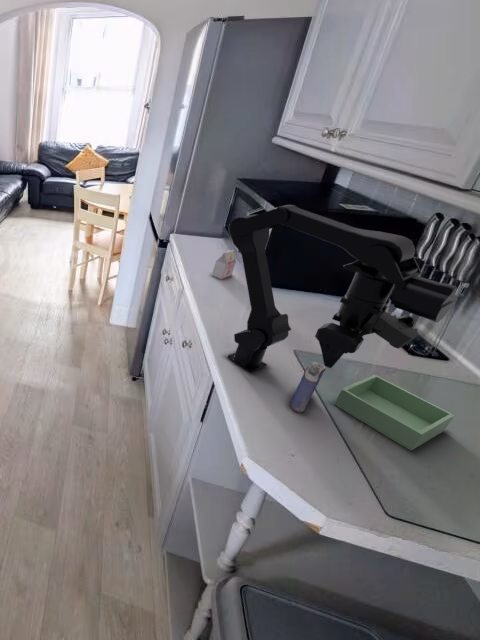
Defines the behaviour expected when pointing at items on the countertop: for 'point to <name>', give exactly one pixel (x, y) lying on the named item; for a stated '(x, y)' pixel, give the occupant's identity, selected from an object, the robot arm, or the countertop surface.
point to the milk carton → (224, 265)
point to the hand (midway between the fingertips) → (336, 359)
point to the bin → (393, 411)
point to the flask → (307, 386)
